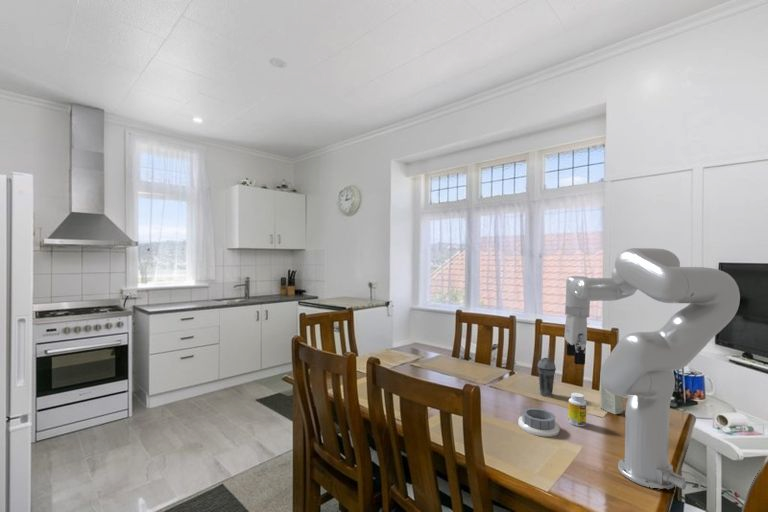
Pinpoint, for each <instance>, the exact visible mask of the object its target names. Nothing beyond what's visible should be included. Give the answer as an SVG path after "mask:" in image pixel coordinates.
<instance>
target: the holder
mask: <svg viewBox="0 0 768 512" xmlns="http://www.w3.org/2000/svg"><path fill="white" fill-rule="evenodd" d="M521 413H522V414H521V416H519V418H518V423H517V424H518V427H519V428H520V430H522V431H524V432H526V433H528V434H529V435H532V436H533V435H534V436H537V437H544V438H545V437H547V438H548V437H550V438H551V437H555V436H558V435H559V434H560V424H558V422H557V421H556V416H555V415H554V413H553V412H551V411H549V410H546V409H544V408H543V409H541V408H537V407H528V408H524V409H523V411H521Z"/></svg>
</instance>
